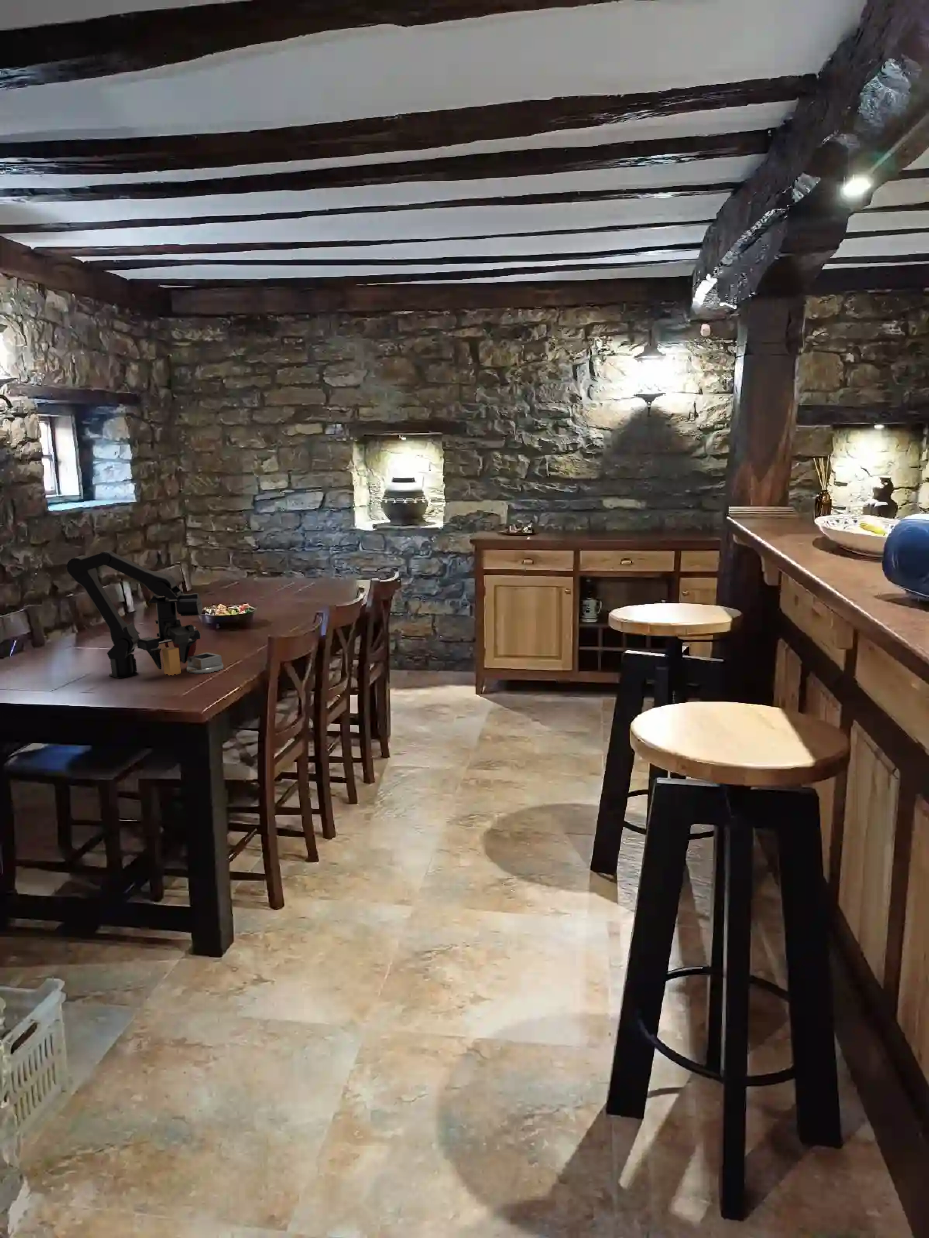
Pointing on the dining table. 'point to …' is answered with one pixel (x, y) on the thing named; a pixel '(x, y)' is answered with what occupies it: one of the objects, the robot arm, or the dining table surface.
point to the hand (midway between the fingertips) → (172, 666)
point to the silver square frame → (204, 663)
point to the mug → (191, 650)
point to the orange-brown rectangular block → (171, 660)
